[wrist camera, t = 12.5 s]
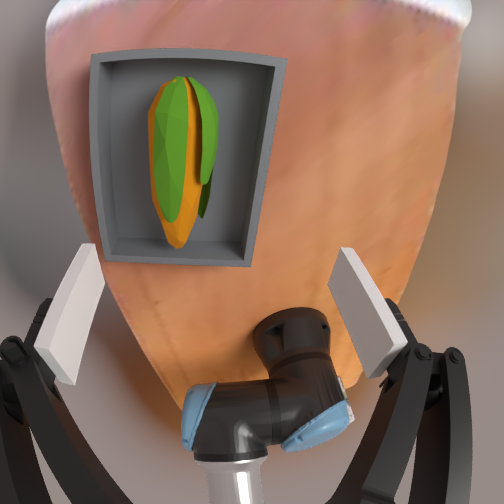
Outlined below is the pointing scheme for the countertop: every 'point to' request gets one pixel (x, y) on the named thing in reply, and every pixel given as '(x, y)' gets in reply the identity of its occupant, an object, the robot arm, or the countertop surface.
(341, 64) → the countertop surface
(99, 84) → the tray
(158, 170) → the corn
